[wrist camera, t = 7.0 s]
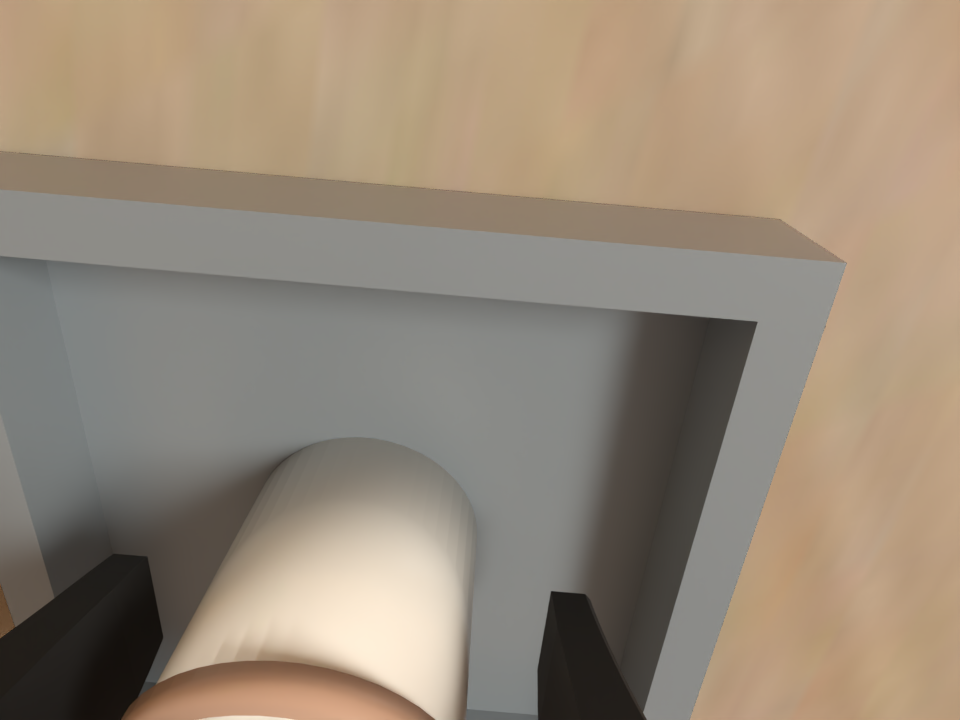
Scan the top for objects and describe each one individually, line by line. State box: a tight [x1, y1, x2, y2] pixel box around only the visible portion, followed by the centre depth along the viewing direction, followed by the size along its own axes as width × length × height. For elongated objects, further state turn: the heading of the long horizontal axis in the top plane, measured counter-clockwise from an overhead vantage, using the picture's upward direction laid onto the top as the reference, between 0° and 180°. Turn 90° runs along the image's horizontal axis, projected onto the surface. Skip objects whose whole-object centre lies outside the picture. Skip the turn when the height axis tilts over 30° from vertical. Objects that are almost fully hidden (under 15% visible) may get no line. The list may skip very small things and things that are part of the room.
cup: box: [120, 437, 477, 720], centre depth 11 cm, size 5×5×6 cm
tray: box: [0, 151, 847, 720], centre depth 13 cm, size 14×14×2 cm
